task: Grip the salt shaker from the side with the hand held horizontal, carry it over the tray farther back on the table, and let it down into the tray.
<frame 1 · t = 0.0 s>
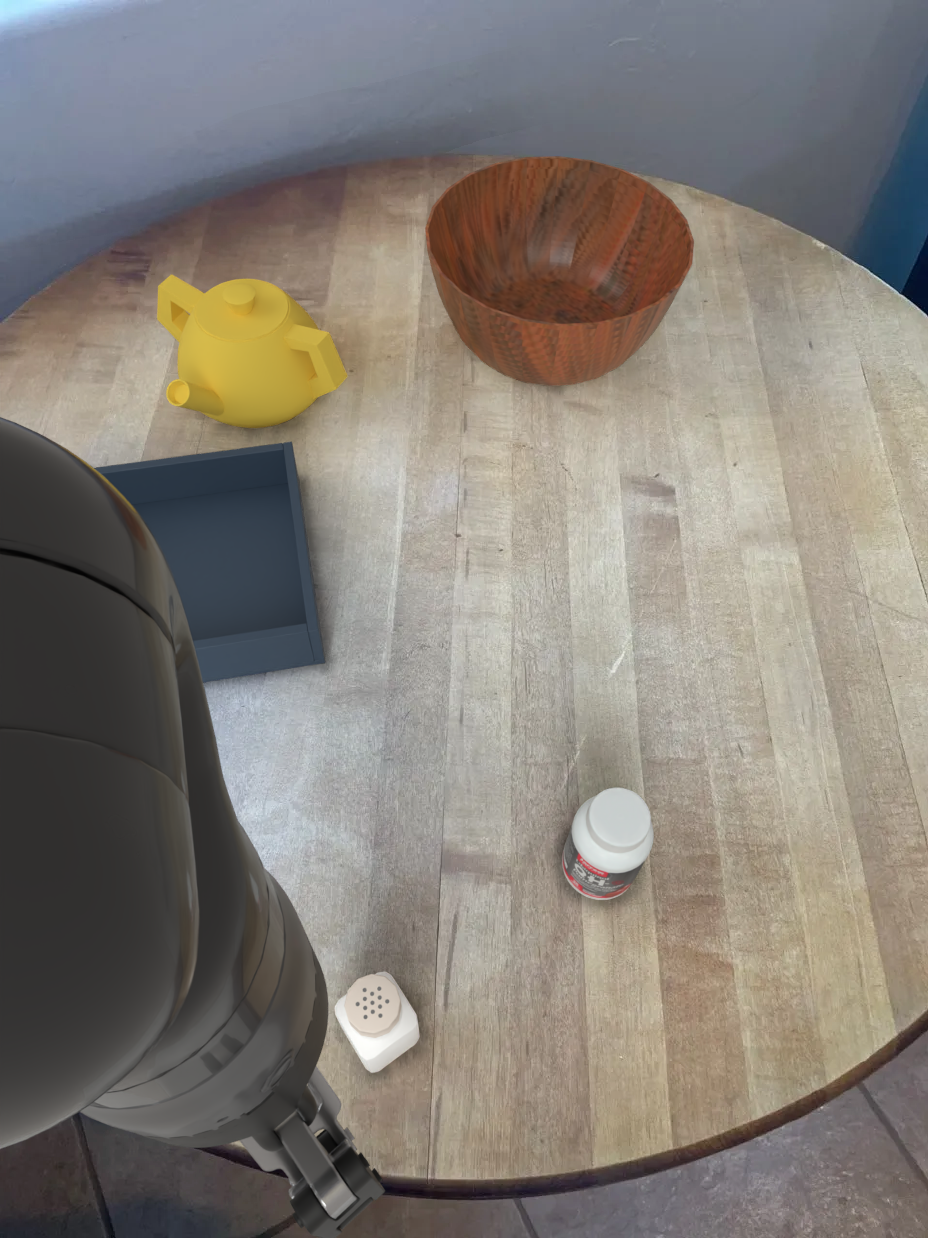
hand: (268, 1069, 42), 22 cm above the table, tool pointing down, fingers open, 8 cm apart
teapot: (247, 399, 93), on the table
pill bottle: (598, 865, 69), on the table
salt shaker: (381, 1032, 63), on the table
bowl: (547, 333, 99), on the table
tray: (195, 583, 81), on the table
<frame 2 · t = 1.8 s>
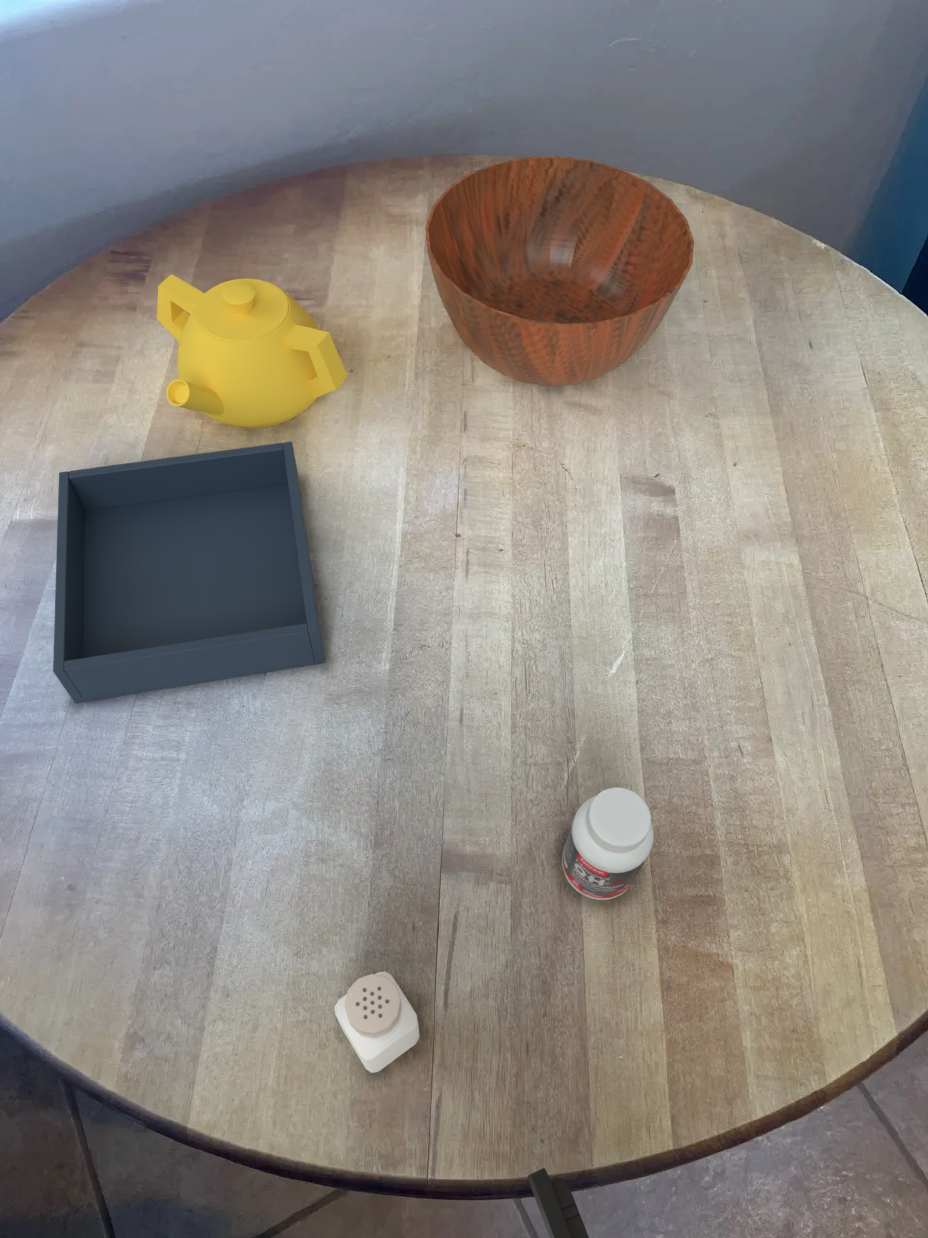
hand: (443, 1213, 41), 19 cm above the table, tool horizontal, fingers open, 8 cm apart
nothing on the table moved.
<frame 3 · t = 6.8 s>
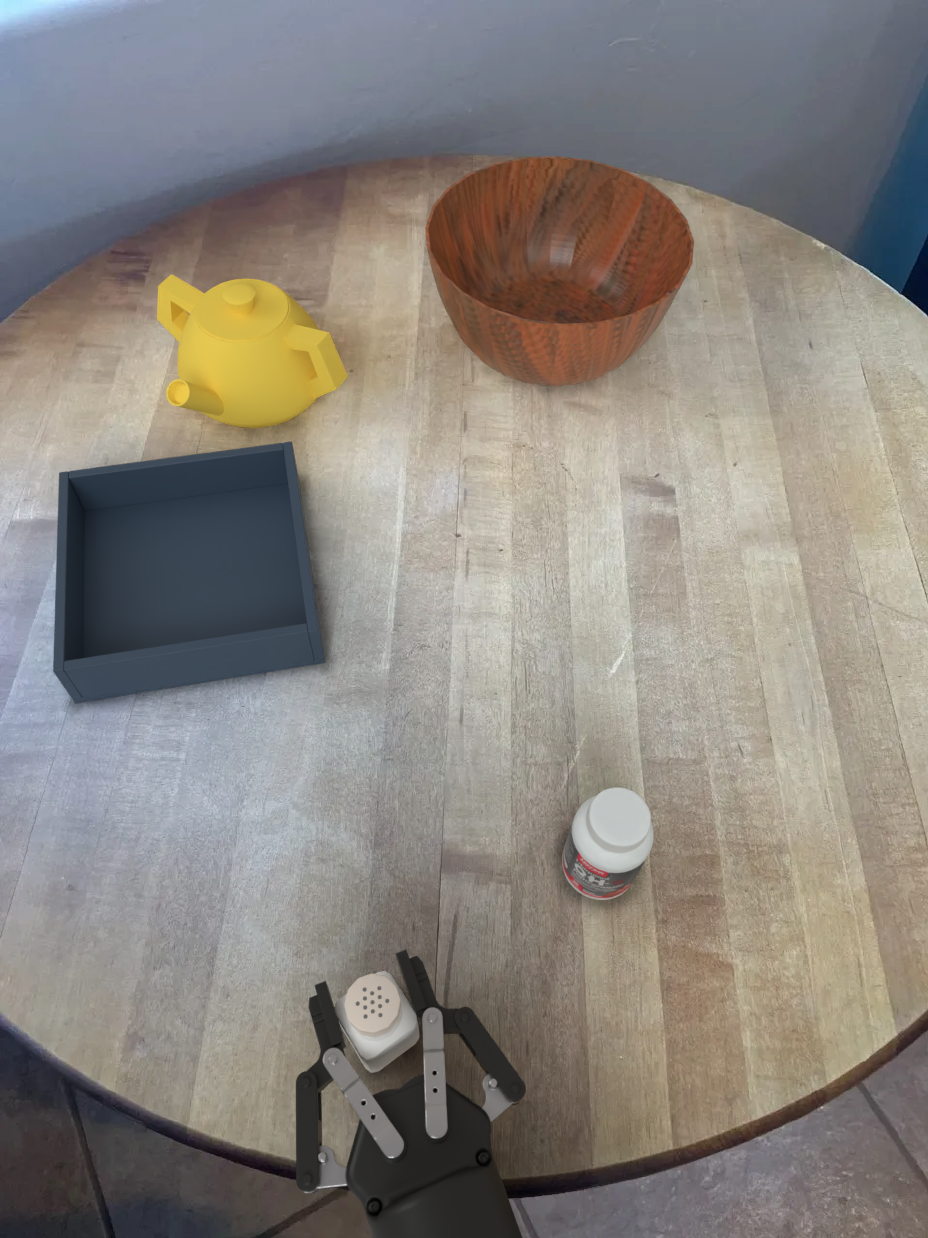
hand: (361, 971, 59), 6 cm above the table, tool horizontal, fingers closed on salt shaker, 4 cm apart
salt shaker: (381, 1032, 63), on the table, touching gripper
everything else where it was.
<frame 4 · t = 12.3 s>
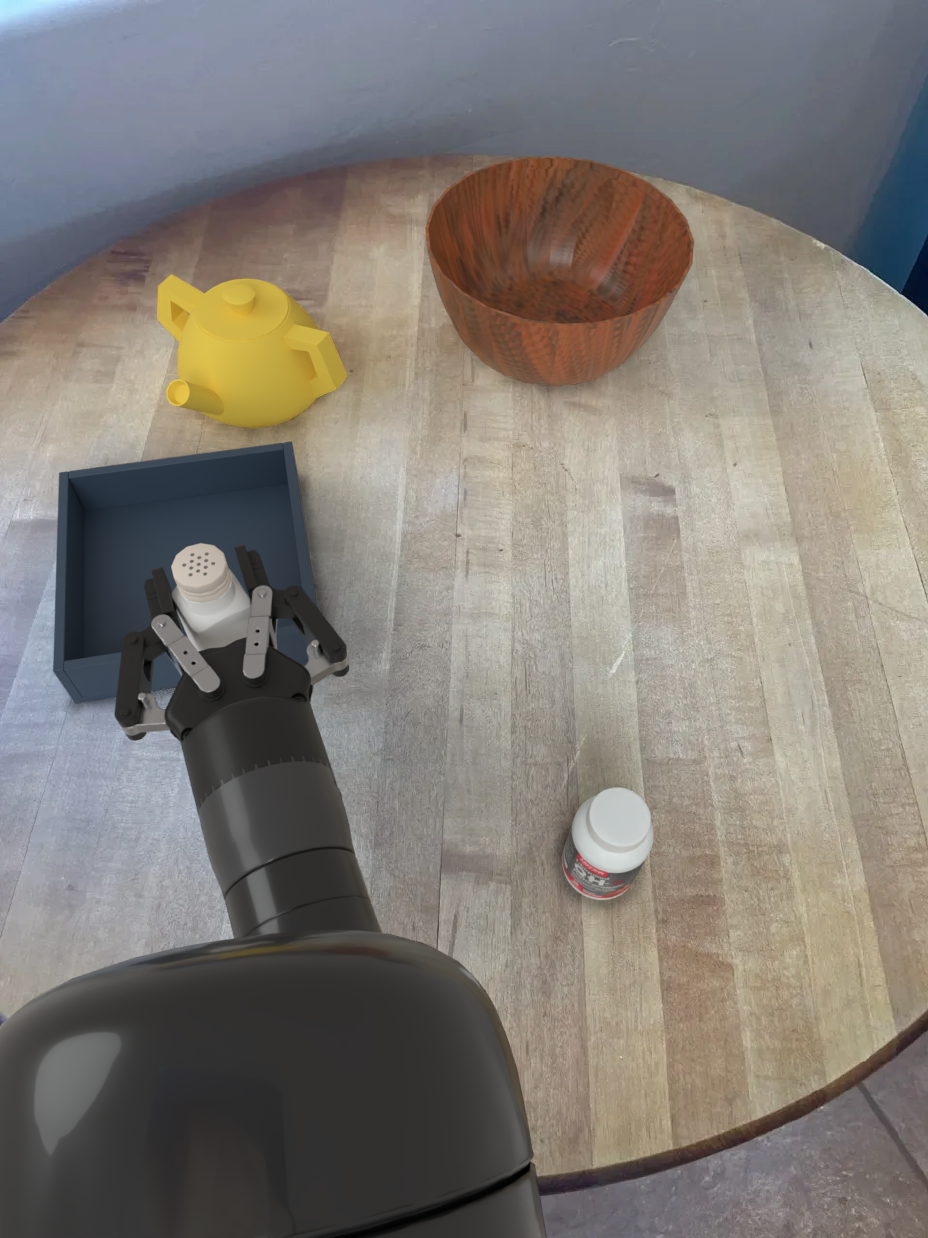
hand: (200, 565, 61), 18 cm above the table, tool horizontal, fingers closed on salt shaker, 4 cm apart
salt shaker: (229, 649, 65), point 11 cm above the table, touching gripper
everything else where it was.
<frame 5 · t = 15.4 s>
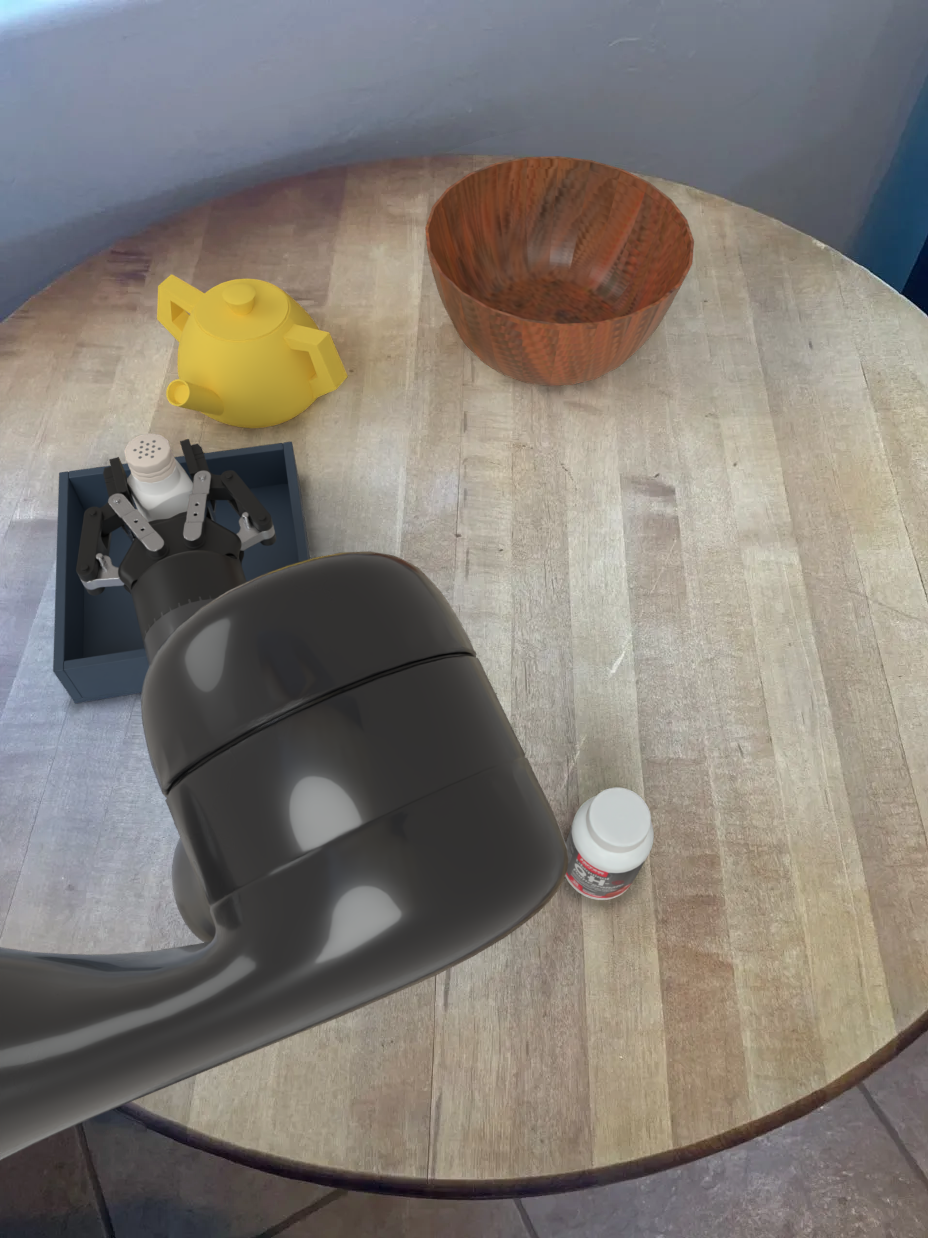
hand: (152, 457, 72), 13 cm above the table, tool horizontal, fingers closed on salt shaker, 4 cm apart
salt shaker: (179, 534, 76), point 7 cm above the table, touching gripper
everything else where it was.
when the fingers open (7 cm above the table, at t = 17.8 s): salt shaker stays where it is, resting on tray.
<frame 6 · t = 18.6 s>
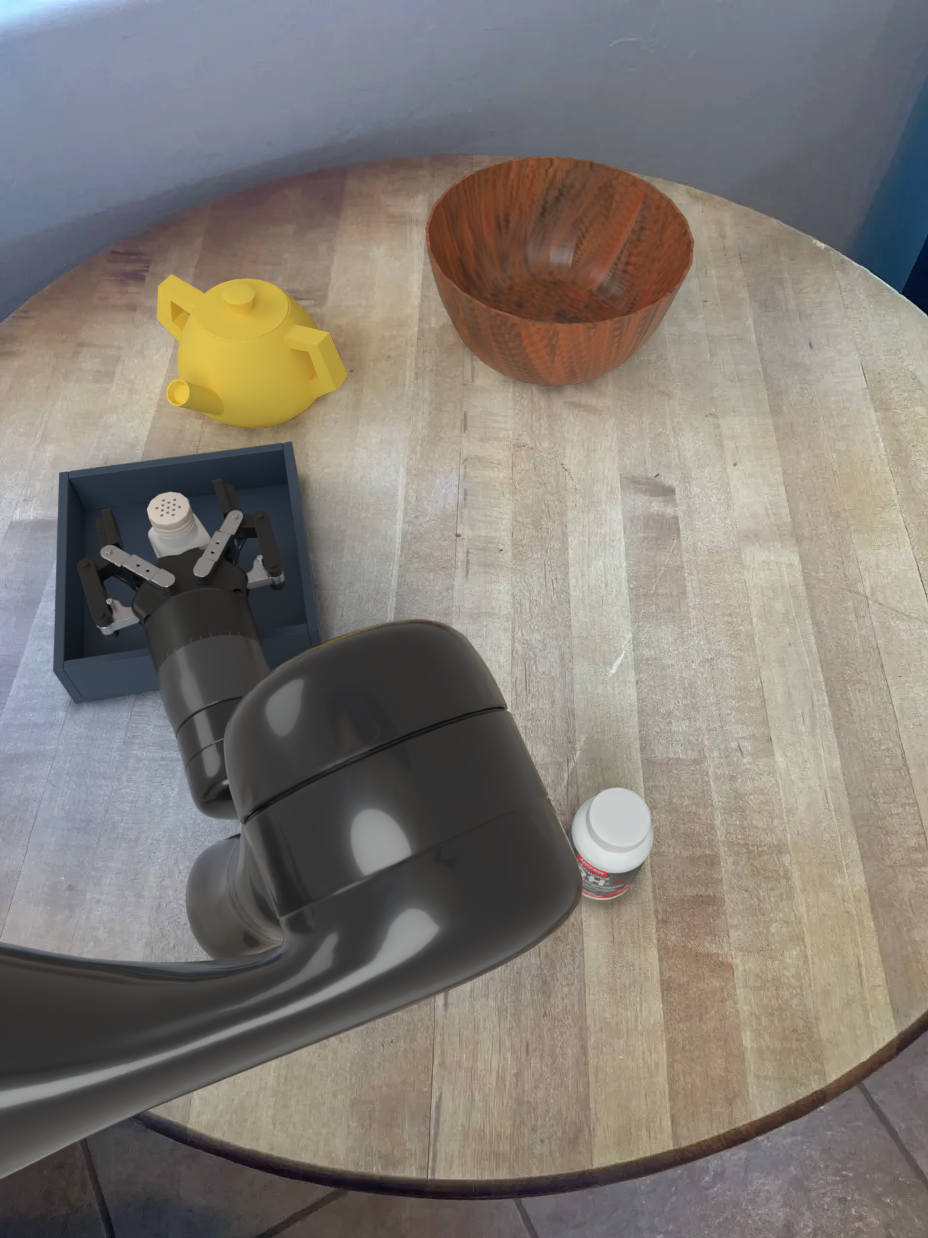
hand: (164, 500, 75), 9 cm above the table, tool horizontal, fingers open, 8 cm apart
salt shaker: (195, 580, 81), resting on tray
everything else where it was.
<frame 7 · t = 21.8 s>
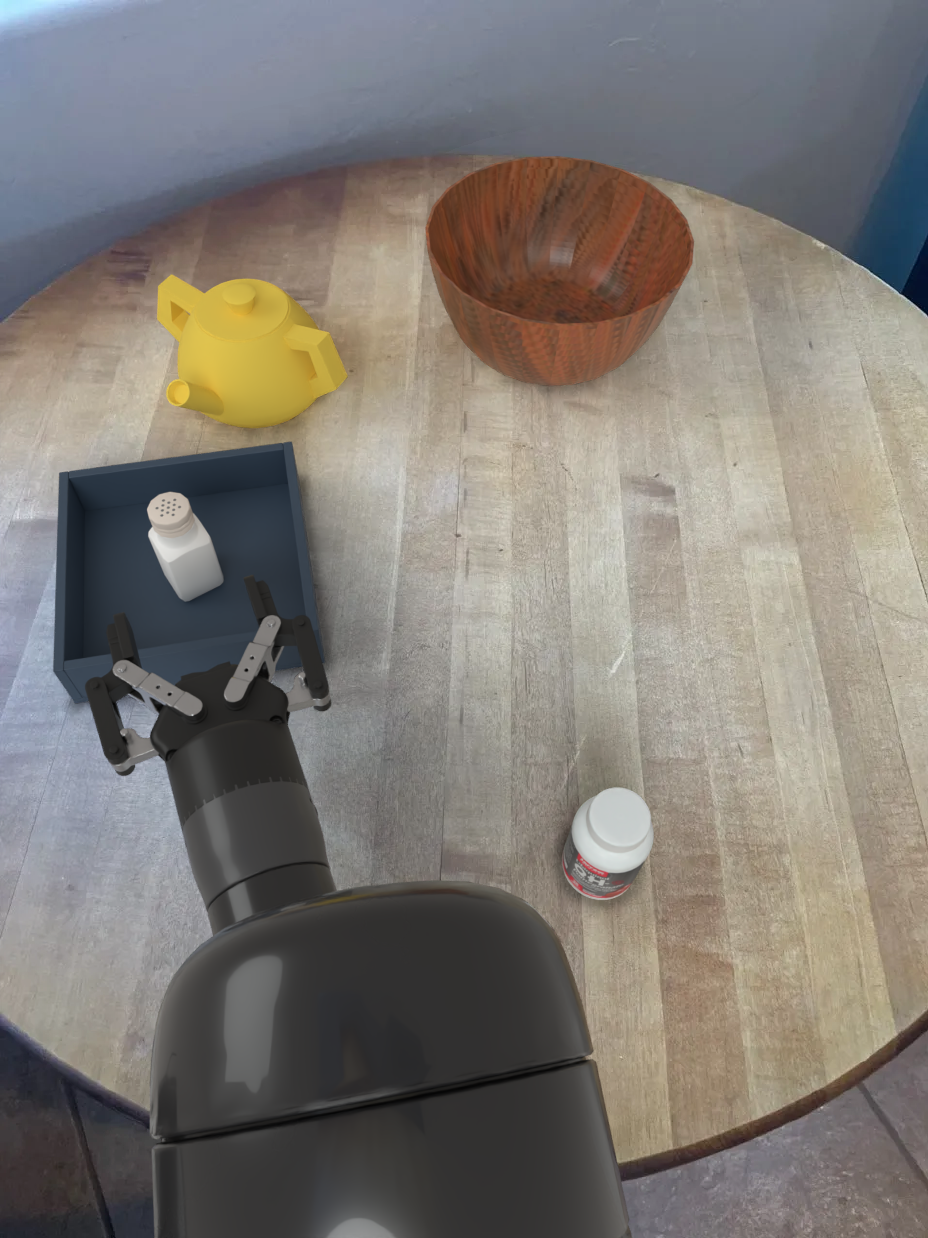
hand: (186, 600, 64), 14 cm above the table, tool horizontal, fingers open, 8 cm apart
nothing on the table moved.
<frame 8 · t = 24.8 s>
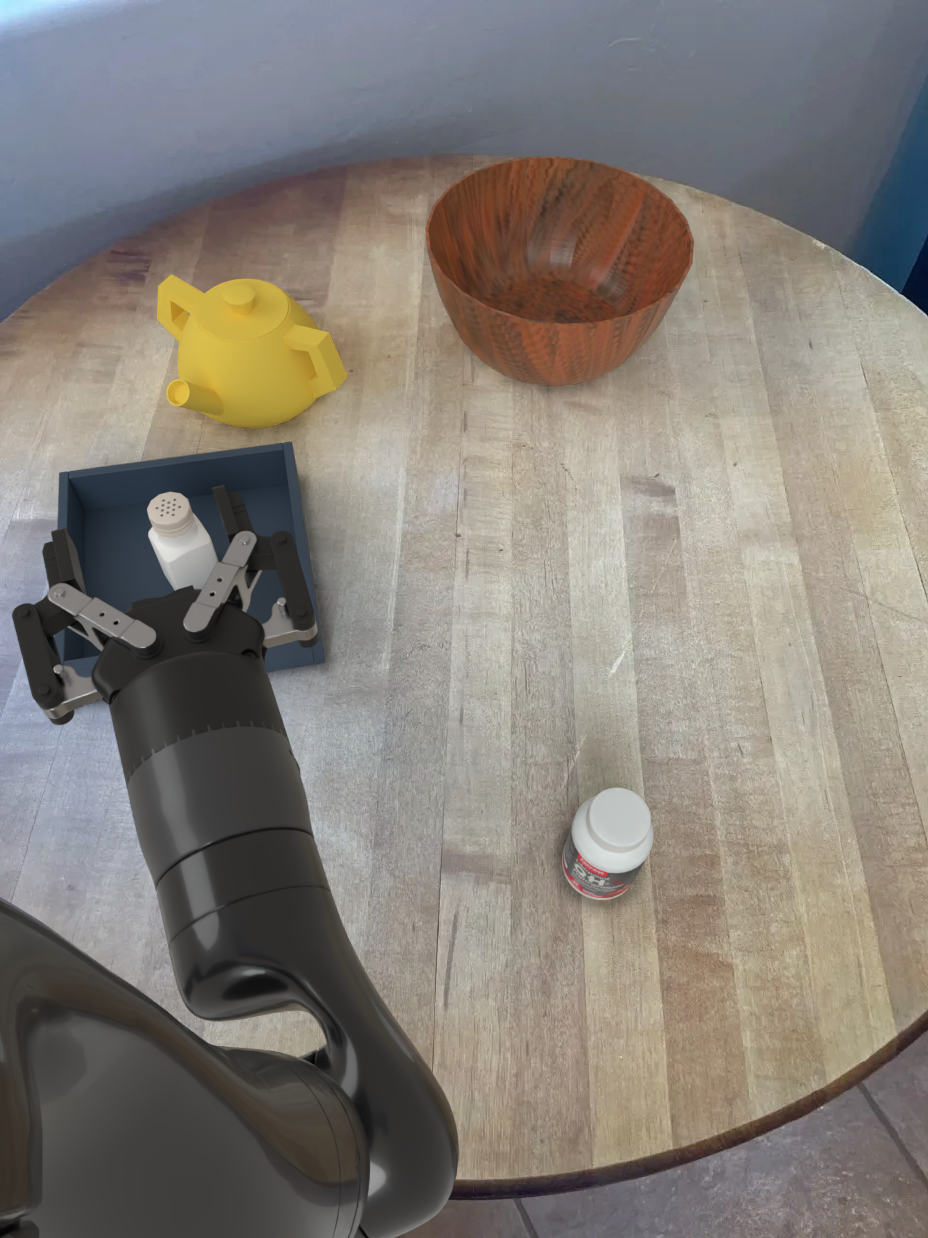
hand: (143, 516, 52), 26 cm above the table, tool horizontal, fingers open, 8 cm apart
nothing on the table moved.
at the end: salt shaker inside the target area in the tray (0.1 cm from its centre), point 0.4 cm above the tray's base; the gripper is holding nothing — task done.
